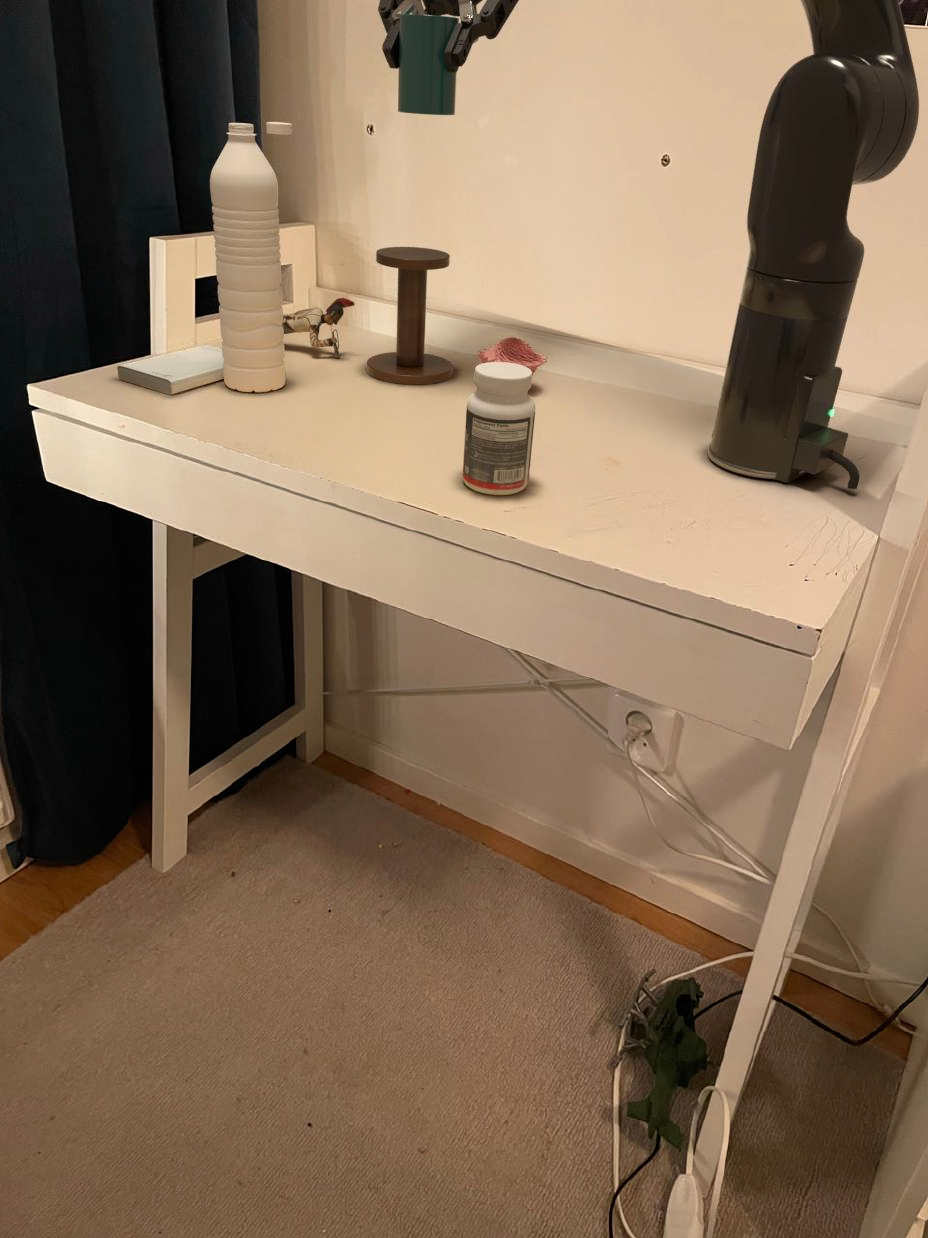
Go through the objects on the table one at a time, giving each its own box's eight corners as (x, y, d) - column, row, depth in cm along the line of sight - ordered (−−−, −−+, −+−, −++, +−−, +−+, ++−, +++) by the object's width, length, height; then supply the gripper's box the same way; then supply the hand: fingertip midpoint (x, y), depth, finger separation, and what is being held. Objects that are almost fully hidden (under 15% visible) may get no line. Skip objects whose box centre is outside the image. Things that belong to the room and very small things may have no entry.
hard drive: (171, 380, 94) (256, 355, 104) (116, 364, 98) (203, 342, 107) (172, 396, 95) (257, 370, 105) (118, 379, 99) (204, 356, 108)
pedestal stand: (470, 375, 108) (478, 256, 101) (407, 390, 102) (411, 265, 95) (411, 355, 114) (415, 242, 107) (348, 368, 107) (347, 249, 101)
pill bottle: (477, 466, 83) (484, 355, 78) (537, 479, 82) (548, 366, 76) (451, 488, 79) (458, 372, 74) (514, 502, 77) (525, 384, 72)
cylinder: (466, 115, 91) (471, 18, 87) (425, 114, 88) (428, 13, 84) (427, 111, 95) (429, 18, 91) (386, 110, 91) (387, 13, 87)
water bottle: (245, 396, 96) (228, 124, 84) (212, 381, 100) (192, 118, 88) (314, 383, 102) (309, 125, 89) (281, 369, 106) (271, 120, 93)
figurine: (251, 372, 115) (360, 356, 110) (233, 354, 112) (345, 336, 106) (258, 332, 117) (366, 313, 112) (241, 312, 113) (351, 292, 108)
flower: (558, 391, 105) (564, 341, 102) (509, 403, 100) (513, 351, 97) (508, 373, 109) (512, 325, 107) (459, 384, 104) (461, 334, 102)
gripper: (400, -113, 90) (338, 25, 87) (539, -115, 85) (480, 31, 82) (423, -40, 97) (366, 90, 94) (552, -38, 92) (498, 100, 89)
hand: (420, 62), depth 88 cm, fingers closed on cylinder, 5 cm apart
